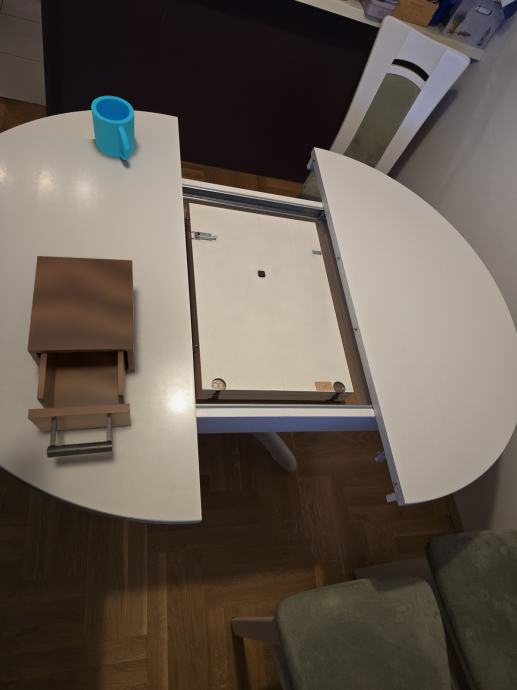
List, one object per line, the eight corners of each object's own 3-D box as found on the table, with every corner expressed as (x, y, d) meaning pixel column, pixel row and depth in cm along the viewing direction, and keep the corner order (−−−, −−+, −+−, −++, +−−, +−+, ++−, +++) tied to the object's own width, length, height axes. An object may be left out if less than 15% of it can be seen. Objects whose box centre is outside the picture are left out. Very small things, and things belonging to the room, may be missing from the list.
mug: (89, 133, 85) (85, 97, 78) (126, 129, 88) (125, 94, 81) (109, 173, 82) (106, 139, 75) (147, 167, 85) (147, 134, 78)
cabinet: (134, 372, 66) (133, 348, 57) (43, 375, 62) (27, 350, 53) (133, 292, 72) (132, 260, 63) (50, 290, 68) (37, 255, 59)
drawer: (131, 457, 59) (129, 447, 52) (38, 466, 55) (23, 457, 49) (130, 340, 67) (128, 319, 60) (48, 341, 63) (37, 318, 56)
